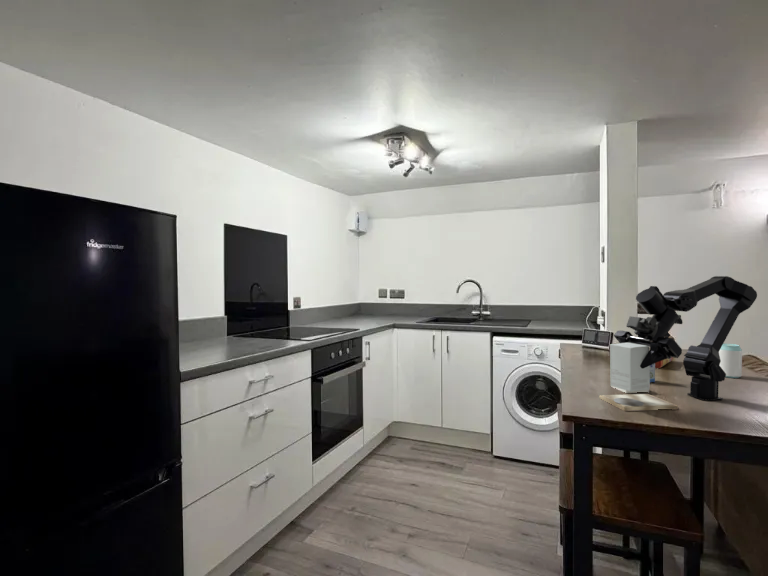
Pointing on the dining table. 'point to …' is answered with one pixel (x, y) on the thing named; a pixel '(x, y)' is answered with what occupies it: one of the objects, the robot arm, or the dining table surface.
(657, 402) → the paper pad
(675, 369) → the dining table surface
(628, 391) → the button housing
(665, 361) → the snack package
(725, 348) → the can
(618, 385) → the supplement box
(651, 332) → the robot arm
